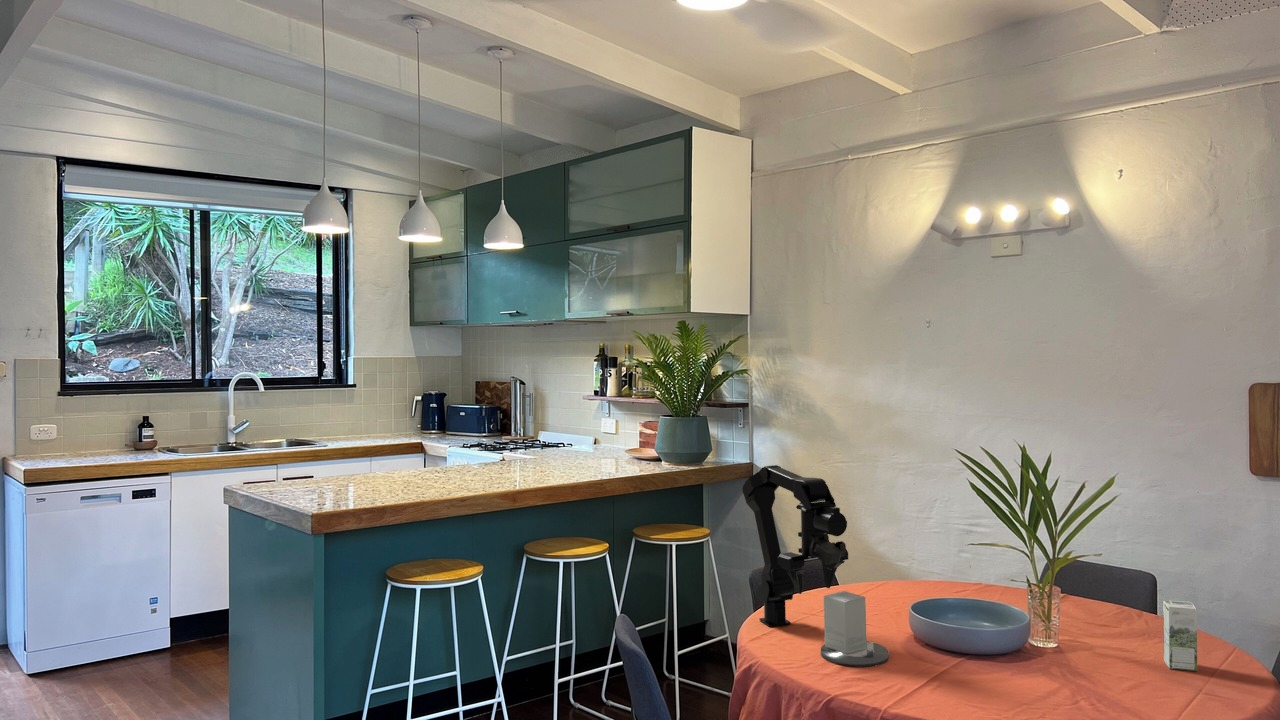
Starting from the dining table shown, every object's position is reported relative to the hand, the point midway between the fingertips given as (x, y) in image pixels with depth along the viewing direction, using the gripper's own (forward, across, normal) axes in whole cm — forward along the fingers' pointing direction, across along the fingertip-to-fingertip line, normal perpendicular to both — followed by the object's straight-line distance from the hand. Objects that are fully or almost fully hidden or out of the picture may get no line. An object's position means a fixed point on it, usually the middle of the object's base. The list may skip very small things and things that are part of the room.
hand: (814, 590), depth 227 cm
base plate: (+13, +2, -12) cm, 18 cm away
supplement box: (+12, +1, -10) cm, 16 cm away
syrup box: (+13, +58, -58) cm, 83 cm away
